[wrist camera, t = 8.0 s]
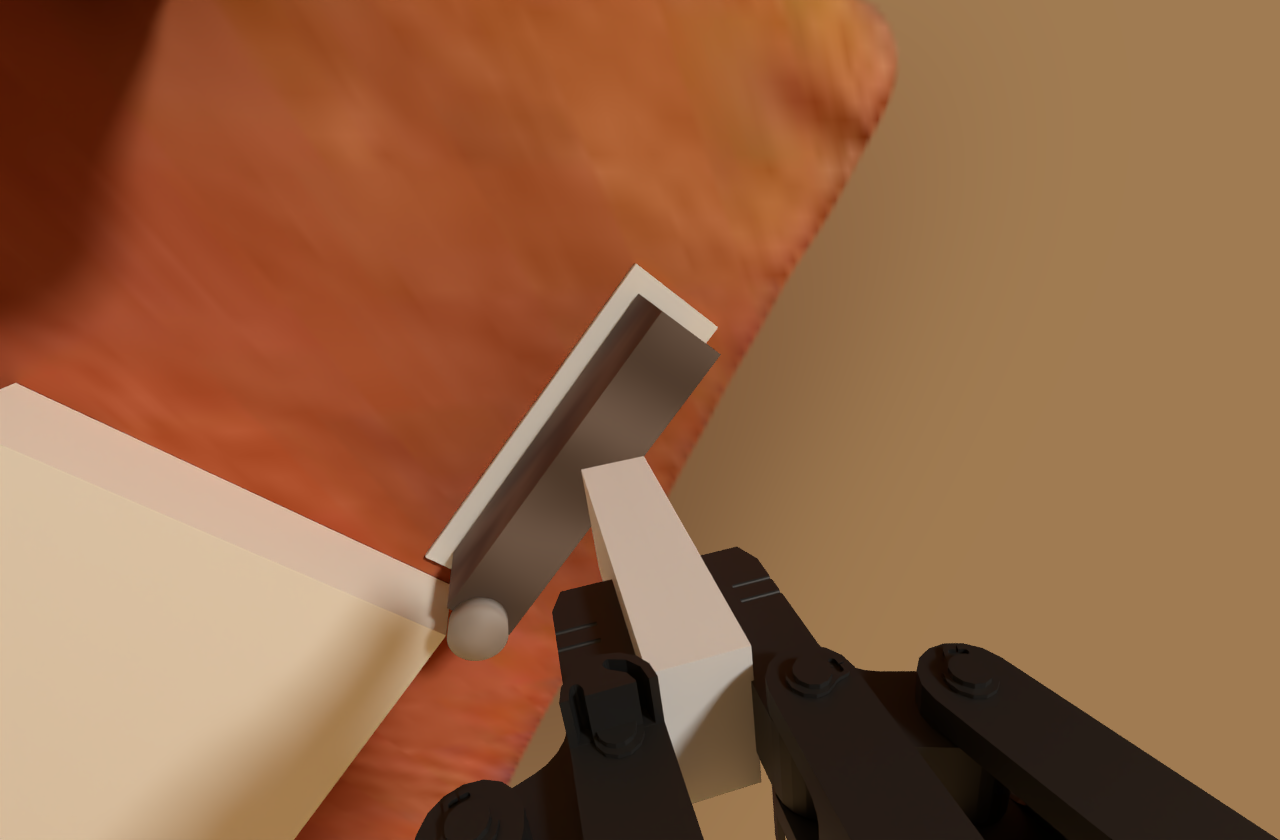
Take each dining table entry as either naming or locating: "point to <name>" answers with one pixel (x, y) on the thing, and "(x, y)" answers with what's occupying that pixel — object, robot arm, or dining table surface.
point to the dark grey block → (569, 474)
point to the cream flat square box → (181, 642)
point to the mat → (555, 393)
